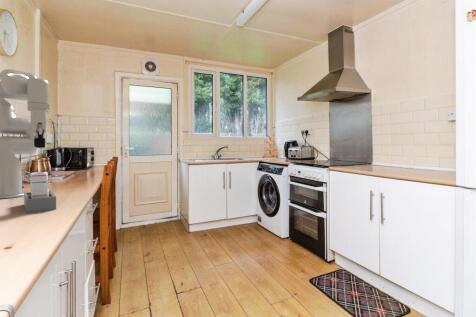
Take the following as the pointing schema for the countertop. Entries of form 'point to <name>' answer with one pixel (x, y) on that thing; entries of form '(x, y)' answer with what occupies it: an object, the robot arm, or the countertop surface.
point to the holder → (39, 203)
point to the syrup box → (39, 185)
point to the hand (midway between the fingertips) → (39, 147)
